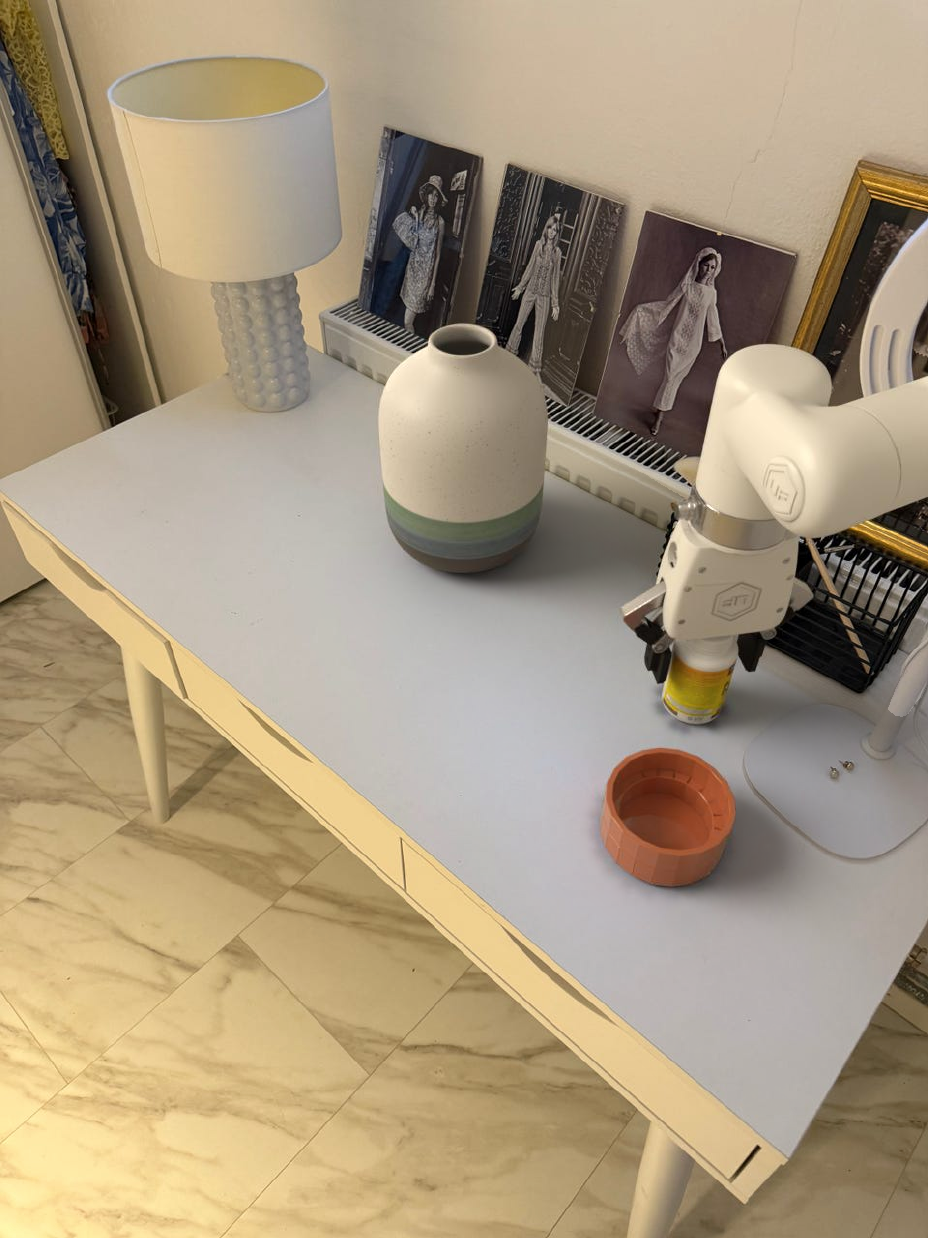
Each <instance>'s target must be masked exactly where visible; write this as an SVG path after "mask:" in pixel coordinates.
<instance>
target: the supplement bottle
mask: <svg viewBox="0 0 928 1238" xmlns="http://www.w3.org/2000/svg"><path fill="white" fill-rule="evenodd" d="M734 636H735V635H729V636H721V637H712V638H703V639H693V640H678V639H676V640H675V641H674V642H673V643H672V647H671V653H672V656H671V661H670V665H669V670H668V674H667V678H666V681H665V682H664V683H663V688H662V693H661V700H662V704H663V707H664V708H665V710H666V711H667V713H669V714H670V716H672V717H673V718H675V720H676V719H677V720H678V721H680V722H683V723H685V724H689V725H690V724H691V725H703V724H706V723H710V722H712V721H714V720H715V719H716V718H718V716H719V715H720V713H721V711H722V709H723V706H724V704H725V700H726V697H727V693H728V690H729V686H730V683H731V680H732V676H733V674H734V670H735V666H736V663H737V660H738V658H739V656H738V645H737V639H736V638H735V637H734Z"/></svg>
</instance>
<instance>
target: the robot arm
mask: <svg viewBox="0 0 928 1238" xmlns="http://www.w3.org/2000/svg"><path fill="white" fill-rule="evenodd" d="M832 386H833V384H832V378H831V373H830V372H829V371H828V369H827V367H826V366H825V364H824V363H823V362H822V361H820V360H819V359H818V358H817V357H815V356H814V355H813V354H811V353H809V352H807V351H804V350H802V349H800V348H798V347H797V348H796V347H793V346H790V345H789V346H788V345H783V344H775V343H762V344H755V345H754V344H753V345H750V346H747V347H744V348H741V349H739V350H737V351H735V352H734V353H733V354H731V355H730V356H729V357H728V358H727V359H726V360H725V361H724V363H723V364H722V365H721V368H720V370H719V372H718V376H717V378H716V383H715V387H714V393H713V397H712V402H711V405H710V411H709V416H708V421H707V426H706V430H705V435H704V439H703V440H704V441H703V444H702V449H701V453H700V457H699V458H700V459H699V463H698V468H697V473H696V477H695V482H694V485H691V490H690V494H689V497H688V498H687V499H684V500H683V501H679V502H675V503H674V504H673V515H674V518H675V520H676V521H677V522H676V525H675V526H674V529H673V531H672V533H671V535H670V537H669V540H668V543H667V545H666V547H665V550H664V554H663V556H662V560H661V563H660V567H659V570H658V573H657V577H656V582H655V585H654V586H651V587H650V588H648V589H647V590H645V591H643V592H642V593H640V594H639V595H637V596H635V597H634V598H632V599H630V600H629V601H627V602H626V603H624V604H622V605H621V606H620V607H619V609H618V611H619V614H620V616H621V619H622V621H623V623H624V624H625V625H626V626H627V627H628V628H629V629H630V630H631V631H632V632H634V633H635V635H636V637H637V638H638V639H640V640H641V641H642V642H644V643H646V644H645V650H644V656H643V661H644V666H645V668H646V670H647V671H648V672H651V673H652V674H653V677H654V679H655V682H656V684H657V685H661V684H664V683H665V681H666V678H667V674H668V670H669V665H670V661H671V656H672V653H671V651H672V649H671V647H670V646H672V645H673V642H674V641H675V640H676V639H678V640H693V639H703V638H712V637H721V636H729V635H734V636H736V635H738V636H737V638H736V642H737V645H738V658H739V660H740V663H741V664H742V666H743V667H744V670H745V671H746V672H748V673H755V672H756V670H757V667H758V664H759V662H760V658H762V657H763V655H764V651H765V649H766V646H767V645H766V644H767V642H768V640H771V639H774V637H776V636H777V629H779V628H780V627H782V626H783V625H785V624H786V623H787V622H789V621H790V620H791V619H793V618H794V617H795V614H796V611H800V610H802V608H804V606H805V605H807V604H808V603H809V602H810V601H811V600H812V599H813V598H814V593H813V592H812V590H811V588H810V587H809V585H808V584H807V583H806V582H804V581H802V580H800V579H799V578H797V577H795V576H796V572H797V565H798V554H799V537H802V538H806V539H817V538H818V539H819V538H825V537H828V536H832V535H835V534H838V533H841V532H843V531H846V530H847V529H850V528H852V527H855V526H858V525H860V524H863V523H866V522H868V521H871V520H873V519H875V518H877V517H879V516H882V515H883V514H887V513H889V512H891V511H894V510H896V509H899V508H902V507H905V506H908V505H909V504H912V503H915V502H918V501H920V500H924V499H925V498H928V375H926V376H924V377H921V378H919V379H916V380H912V381H909V382H907V383H904V384H901V385H897V386H896V387H895V386H894V387H892V388H888V389H886V390H882V391H879V392H876V393H873V394H870V395H867V396H864V397H861V398H858V399H855V400H851V401H849V402H846V403H843V404H840V405H833V406H829V405H830V400H831V395H832V388H833V387H832ZM654 611H655V613H654V614H653V615H652V616H650V618H648V617H646V616H647V615H649V614H650V613H652V612H654ZM663 627H664V629H663Z"/></svg>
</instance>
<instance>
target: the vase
mask: <svg viewBox="0 0 928 1238" xmlns="http://www.w3.org/2000/svg"><path fill="white" fill-rule="evenodd" d="M548 415H549V414H548V404H547V399H546V396H545V392H544V390H543V387H542V384H541V383H540V381H539V379H538V377H537V376H536V374H535V372H534V371H533V370H532V369H531V367H529V366H528V365H527V364H526V363H525V361H523V360H522V359H520V358H519V357H518V356H516V355H515V354H513V353H512V352H510V351H508V349H505V348H503V347H501V346H499V345H498V339H497V337H496V335H495V334H494V332H493V331H491V330H490V329H489V328H486V327H484V326H482V325H477V324H472V323H454V324H449V325H445V326H442V327H439V328H438V329H436V330H434V332H432V333H431V334H430V335H429V338H428V342H427V345H426V346H425V347H423V348H422V349H421V348H420V349H419V350H418V351H416V352H415V353H413V354H411V355H410V356H408V357H407V358H406V359H404V360H403V361H402V362H401V363H400V364H399V365H398V366H397V367H396V368H395V369H394V370H393V372H392V373H391V374H390V376H389V377H388V379H387V381H386V383H385V386H384V387H383V391H382V394H381V397H380V400H379V407H378V417H377V420H378V421H377V423H378V424H377V426H378V441H379V452H380V453H379V454H380V466H381V477H382V490H383V501H384V508H385V514H386V515H385V516H386V518H387V522H388V525H389V526H388V527H389V528H390V530H391V533H392V535H393V536H394V538H395V540H396V541H397V543H398V544H399V546H400V547H401V548H402V549H403V551H404V552H405V553H406V554H407V555H409V556H410V557H411V558H412V559H414V560H415V561H417V562H419V563H421V565H422V564H423V565H424V566H427V567H429V568H432V569H435V570H439V571H442V572H446V573H447V572H449V573H455V574H456V573H458V574H471V573H478V572H479V573H480V572H484V571H488V570H491V569H495V568H498V567H500V566H502V565H504V564H506V563H508V562H510V561H512V560H513V559H514V558H516V557H517V556H518V555H519V554H521V552H523V550H525V548H527V546H528V544H529V543H530V541H531V540H532V538H533V537H534V535H535V532H536V531H537V528H538V525H539V522H540V518H541V514H542V507H543V499H544V488H545V487H544V486H545V474H546V473H545V472H546V459H547V445H548V428H549V416H548Z"/></svg>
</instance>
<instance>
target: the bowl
mask: <svg viewBox="0 0 928 1238" xmlns="http://www.w3.org/2000/svg"><path fill="white" fill-rule="evenodd" d="M736 815H737V814H736V799H735V796H734V794H733V792H732V790H731V787H730V785H729V783H728V781H727V780H726V778H724V776H723V775H722V774H721V773H720V772H719V771H718V769H716V768H715V767H714V766H713V765H711V764H710V763H708V762H707V761H706V760H704V759H702V757H700V756H697V755H695V754H693V753H690V752H687V751H685V750H682V749H678V748H677V749H676V748H668V747H655V748H654V747H653V748H646V749H642V750H639V751H636V752H634V753H632V754H630V755H628V756H626V757H625V758H624V759H623V760H621V761H620V762H619V763H618V764H617V765H616V766H615V767H614V768H613V769H612V771H611V774H610V775H609V778H608V780H607V782H606V786H605V791H604V798H603V803H602V809H601V814H600V826H599V827H600V829H599V830H600V835H601V839H602V841H603V844H604V847H605V850H606V851H607V852H608V853H609V855H610V857H611V858H612V860H613V861H614V862H615V863H616V864H617V865H618V866H619V867H621V869H623V870H624V871H626V873H628V874H629V875H631V876H632V877H634V878H637V879H640V880H641V881H644V882H646V883H648V884H651V885H655V886H663V887H671V888H672V887H679V886H680V887H681V886H685V885H686V886H687V885H692V884H694V883H695V882H698V881H700V880H702V879H704V878H706V877H707V876H709V875H710V873H712V871H713V870H714V869H715V868H716V867H717V866H718V865H719V864H720V862H721V859H722V856H723V853H724V850H725V848H726V845H727V842H728V840H729V836H730V834H731V831H732V829H733V826H734V822H735V819H736Z"/></svg>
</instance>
